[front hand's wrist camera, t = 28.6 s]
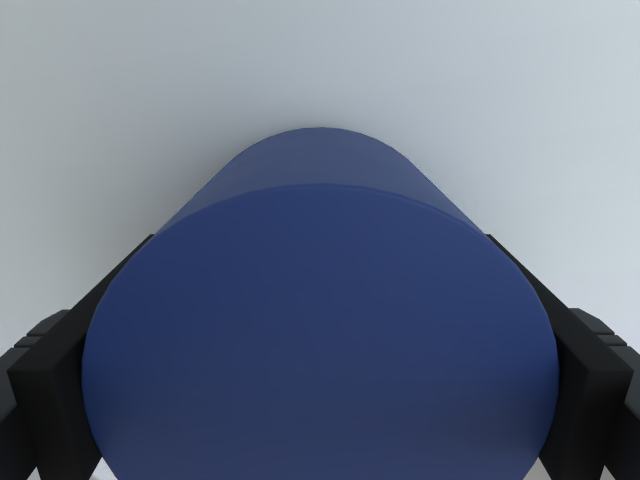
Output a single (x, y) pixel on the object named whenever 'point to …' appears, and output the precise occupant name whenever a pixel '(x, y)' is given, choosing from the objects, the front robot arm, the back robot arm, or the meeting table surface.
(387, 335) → the can
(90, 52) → the meeting table surface
